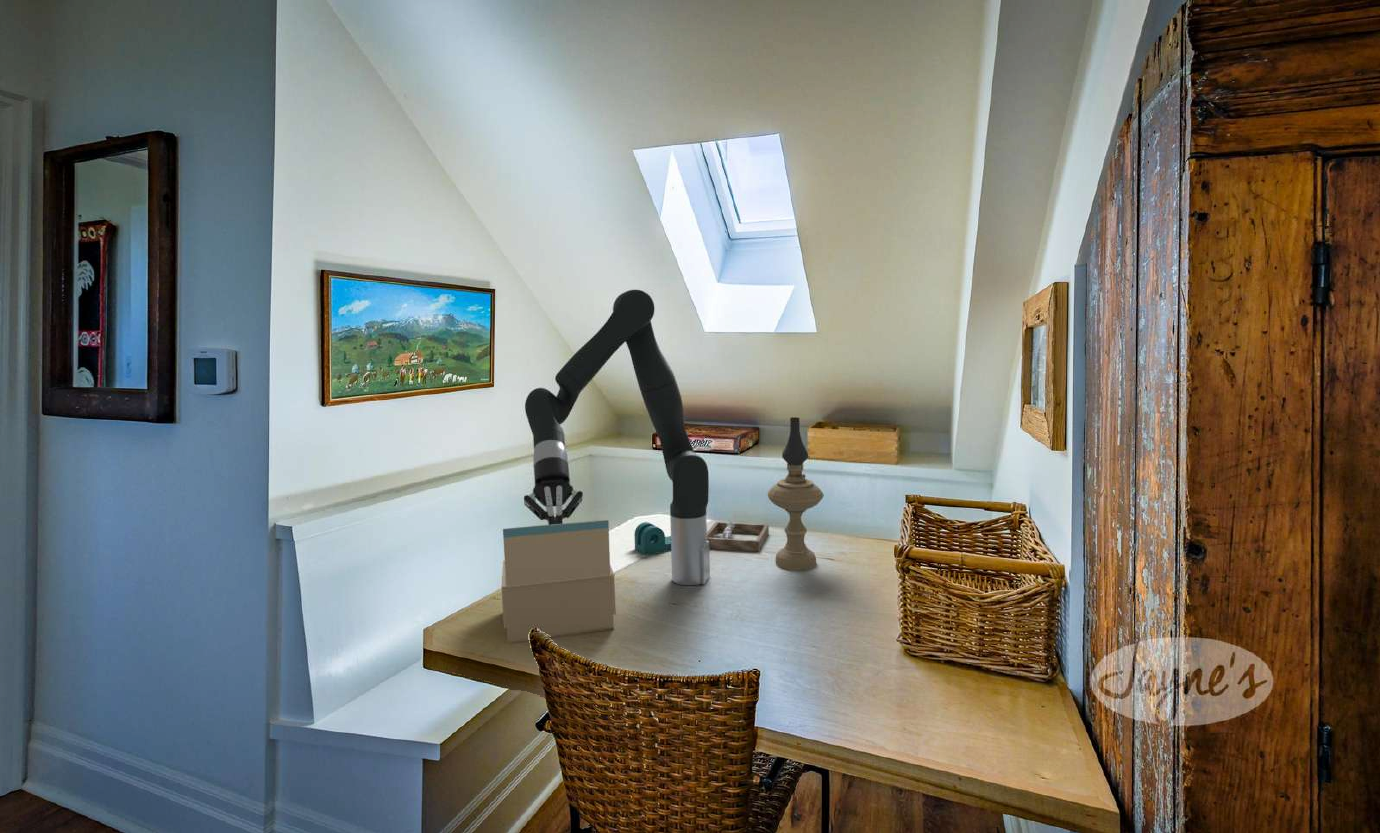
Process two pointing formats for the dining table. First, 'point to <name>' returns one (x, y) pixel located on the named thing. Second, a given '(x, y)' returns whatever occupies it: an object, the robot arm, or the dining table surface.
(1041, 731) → the dining table surface
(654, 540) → the bracket
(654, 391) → the robot arm
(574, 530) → the wooden box lid
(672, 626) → the dining table surface
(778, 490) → the oil lamp
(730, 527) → the soldier figure
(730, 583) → the dining table surface
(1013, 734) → the dining table surface
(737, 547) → the wooden tray
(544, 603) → the tan open box
